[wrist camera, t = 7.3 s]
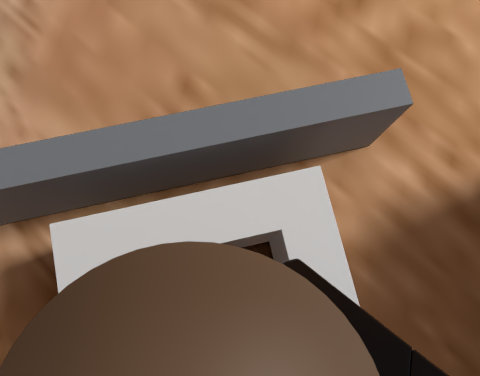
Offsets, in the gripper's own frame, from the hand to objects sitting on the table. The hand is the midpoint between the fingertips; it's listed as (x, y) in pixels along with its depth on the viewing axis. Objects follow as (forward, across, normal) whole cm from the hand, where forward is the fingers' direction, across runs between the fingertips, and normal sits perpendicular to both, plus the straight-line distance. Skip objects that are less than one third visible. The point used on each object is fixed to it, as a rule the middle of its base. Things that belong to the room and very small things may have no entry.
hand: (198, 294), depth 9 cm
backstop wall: (+11, 0, +3) cm, 11 cm away
